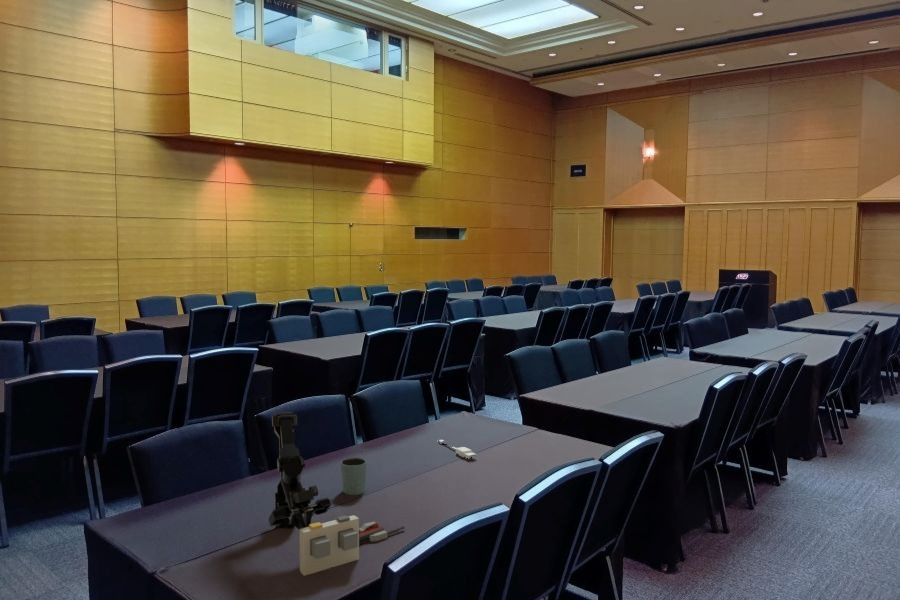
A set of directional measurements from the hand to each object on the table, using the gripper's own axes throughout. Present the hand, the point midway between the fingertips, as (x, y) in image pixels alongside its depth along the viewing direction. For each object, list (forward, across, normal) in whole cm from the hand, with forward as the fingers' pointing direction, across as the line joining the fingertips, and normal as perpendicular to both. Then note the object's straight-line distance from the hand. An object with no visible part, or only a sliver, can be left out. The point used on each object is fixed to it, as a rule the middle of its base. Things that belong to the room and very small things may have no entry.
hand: (308, 537), depth 203 cm
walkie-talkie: (+2, +26, +10) cm, 28 cm away
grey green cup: (-26, +39, +38) cm, 61 cm away
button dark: (+6, +9, -2) cm, 11 cm away
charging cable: (-40, +103, +52) cm, 122 cm away
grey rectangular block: (+6, 0, -2) cm, 6 cm away
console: (+9, +5, +2) cm, 11 cm away
